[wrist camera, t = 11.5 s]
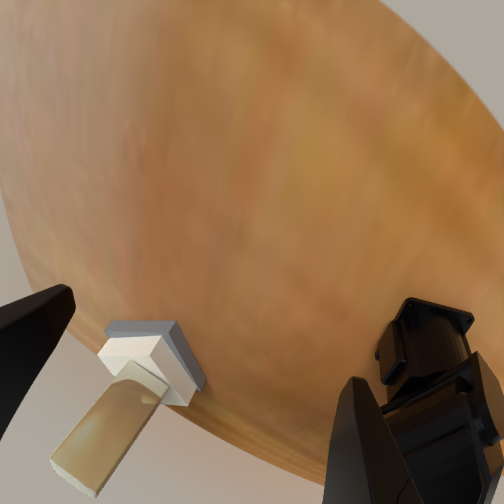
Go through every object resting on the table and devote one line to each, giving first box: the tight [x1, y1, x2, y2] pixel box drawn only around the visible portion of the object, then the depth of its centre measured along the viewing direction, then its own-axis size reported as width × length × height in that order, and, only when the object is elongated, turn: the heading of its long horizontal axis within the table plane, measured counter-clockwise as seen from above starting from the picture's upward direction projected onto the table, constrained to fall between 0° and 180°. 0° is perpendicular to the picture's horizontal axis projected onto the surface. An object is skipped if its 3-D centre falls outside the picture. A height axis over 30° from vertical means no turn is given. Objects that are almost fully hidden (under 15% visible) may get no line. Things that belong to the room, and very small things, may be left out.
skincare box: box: [49, 360, 169, 499], centre depth 22 cm, size 6×4×12 cm
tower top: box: [97, 335, 197, 406], centre depth 28 cm, size 7×7×2 cm
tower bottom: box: [104, 321, 206, 391], centre depth 30 cm, size 8×8×2 cm
